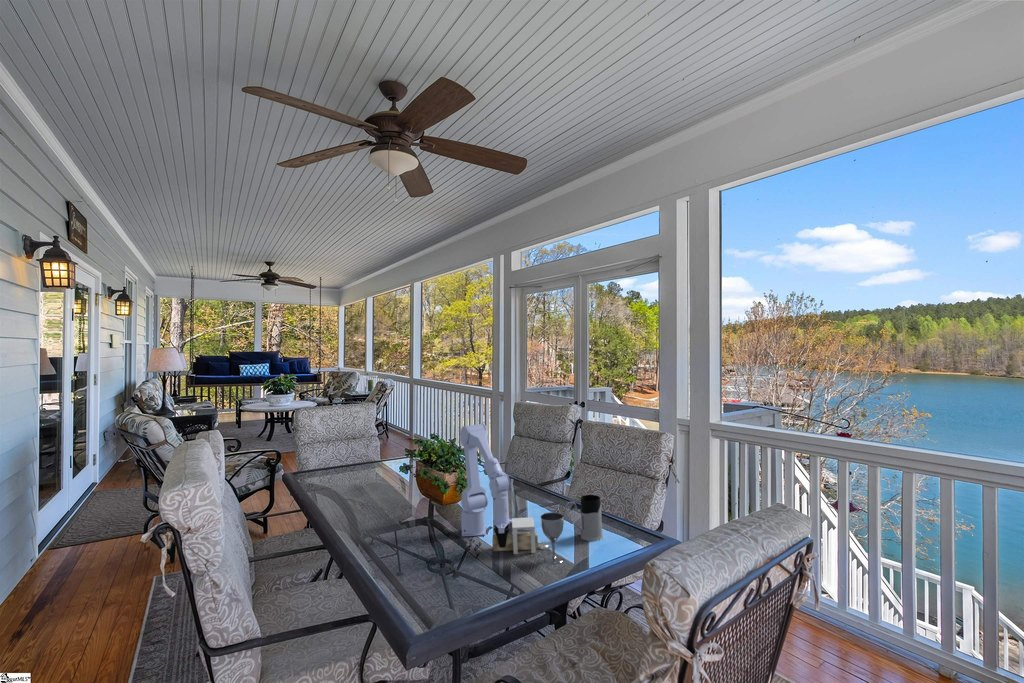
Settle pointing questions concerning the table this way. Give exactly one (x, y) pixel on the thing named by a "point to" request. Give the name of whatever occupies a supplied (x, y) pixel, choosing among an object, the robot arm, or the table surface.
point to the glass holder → (590, 518)
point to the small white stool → (523, 531)
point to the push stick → (522, 542)
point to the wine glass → (552, 533)
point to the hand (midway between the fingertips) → (502, 545)
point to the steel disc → (543, 546)
